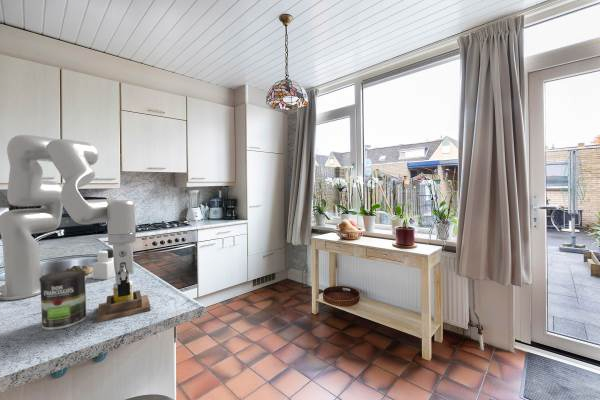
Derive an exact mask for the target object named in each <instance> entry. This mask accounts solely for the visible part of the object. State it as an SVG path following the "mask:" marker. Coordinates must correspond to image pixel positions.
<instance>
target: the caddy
mask: <svg viewBox="0 0 600 400" xmlns="http://www.w3.org/2000/svg"><path fill="white" fill-rule="evenodd" d="M151 309H152V307H151V303H150V300H149V296H148V294H145V295H144V294H143V295H142V294H141V290H133V300H130V301H124V302H119V303H114V294H112V295H107V296H106V302H103V303H98V309H97V313H96V323H100V322H104V321H108V320H112V319H118V318H123V317H127V316H132V315H136V314H141V313H144V312H146V313H147V312H150V311H151Z"/></svg>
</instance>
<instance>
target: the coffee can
mask: <svg viewBox="0 0 600 400" xmlns="http://www.w3.org/2000/svg"><path fill="white" fill-rule="evenodd" d="M85 273H86V272H85V271H84V270H66V269H65V270H60V271H55V272H50V273H47V274H44V275H41V277H40V279H39V280H40V287H41V294H40V302H41V303H40V305H41V329H42V330H47V331H54V330H55V331H56V330H63V329H66V328H69V327H73V326H75V325H78V324H79V323H82V322H83V321H84V320H86V319H87V317H88V316H87V296H86V295H87V293H86V292H87V291H86V276H85Z"/></svg>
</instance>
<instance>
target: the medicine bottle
mask: <svg viewBox="0 0 600 400" xmlns="http://www.w3.org/2000/svg"><path fill="white" fill-rule="evenodd" d="M96 260H97V261H95V262H92V264H91V265H92V267H91V268H92V269H93V272H92V279H93V280H103V281H104V280H105V281H107V280H110V279H112V278H115V277H116V274H115V268H114V259H113V249H111V248H110V249H108V248H107V249H101V250H99V251H97V259H96Z"/></svg>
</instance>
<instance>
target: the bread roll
mask: <svg viewBox="0 0 600 400" xmlns="http://www.w3.org/2000/svg"><path fill="white" fill-rule="evenodd" d="M66 270H84V271H85V272H86V273H85V275H86V276H89V275H88V274H90V273H92V274H93V268H92V267H90V266H86V265H72V267H67V269H65V271H66ZM90 275H91V274H90Z"/></svg>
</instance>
